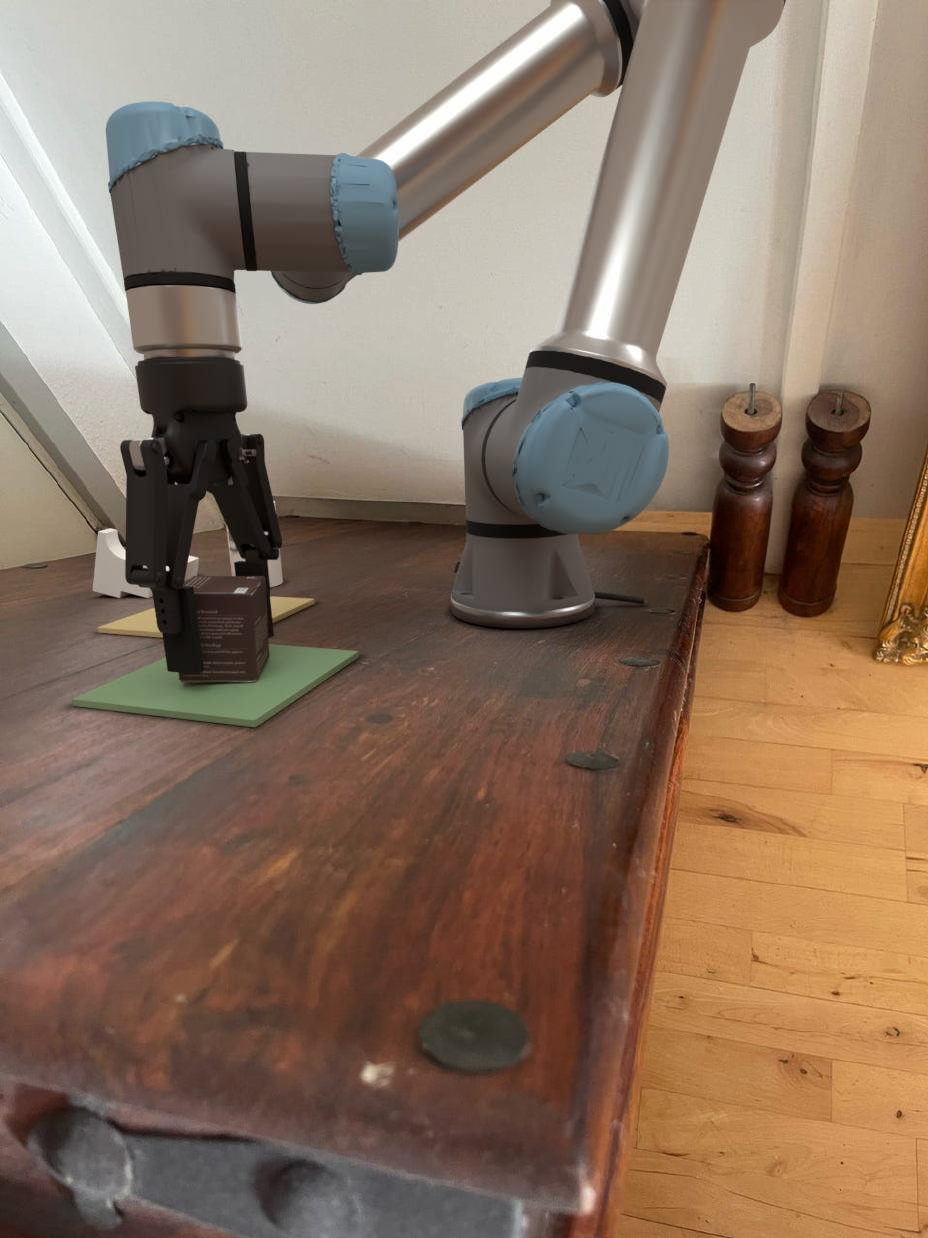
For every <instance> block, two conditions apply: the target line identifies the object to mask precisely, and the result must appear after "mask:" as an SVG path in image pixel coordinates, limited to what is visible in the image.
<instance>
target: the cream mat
mask: <svg viewBox="0 0 928 1238" xmlns="http://www.w3.org/2000/svg"><path fill="white" fill-rule="evenodd" d="M315 600H316V599H315V598H308V597H307V598H306V597H288V596H272V595H270V601H271V611H272V621H273V624H275V623H277V622H279V621H281V620H283V619H285V618H288V617H289V616H291V615H294V614H296V613H298V612H301V611H302V610H304V609H306V608H308V607H311V606H313V605H315V604H316V601H315ZM156 619H157V618H156V613H155V607H152V608H149V609H147V610H143V611H141V612H138V613H135V614H132V615H129V616H126V617H124V618H121V619H117V620H114V621H111V622H109V623H106V624H103V625H100V626H98V627H97V633H99V634H109V635H120V636H121V635H122V636H134V637H148V638H159V639H161V638H162V639H163V635H162V632H160V631H159V629H158V627H157V621H156Z"/></svg>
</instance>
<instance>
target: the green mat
mask: <svg viewBox="0 0 928 1238" xmlns="http://www.w3.org/2000/svg"><path fill="white" fill-rule="evenodd" d="M359 658H360V652H359V650H348V649H336V648H323V647H310V646H296V645H287V644H286V645H284V644H273V643H272V644H271V643H269V658H268V660H267V662H266V664H265V666H264V668H263V670H262V672H261V674H260V675H259V677H258V679H257V681H256V682H250V683H246V682H244V683H243V682H201V683H182V682H181V681H180V680H179V672H168V670H167V663H166V656H164V657H163V658H161V659H159V660H157V661H154V662H151V663H149V664H147V665H145V666H143V667H141V668H139V669H136V670H133V671H131V672H129V673H127V674H125V675H122V676H120V677H118V678H115V679H114V680H111V681H109V682H107V683H105V684H102V685H99V686H98V687H95V688H93V689H91V690H88V691H87V692H84V693H82V694H79V695H78V696H75V697H73V698H71V703H72V706H73V707H79V708H86V709H95V710H103V711H113V712H121V713H128V714H138V715H147V716H154V717H163V718H172V719H180V720H187V721H188V720H189V721H194V722H195V721H196V722H203V723H213V724H221V725H229V726H239V727H247V728H257V727H258V726H261V725H262V724H263V723H264V722H266V721H267V720H269V719H270V718H272V717H273V716H275V715H277V714H278V713H280V711H282V710H284V709H285V708H287V707H288V706H289V705H291V704H293V703H294V702H295V701H297V700H299V699H300V698H301V697H303V696H304V695H306V694H307V693H309V692H311V690H313V689H315V688H316V687H317V686H319V685H321V684H322V683H323V682H325V681H327V680H328V679H329V678H331V677H333V676H334V675H335V674H337V673H338V672H339V671H341V670H343V669H344V668H346V667H347V666H348V665H350V664H351V663H353V662H354V661H355V660H358V659H359Z"/></svg>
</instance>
